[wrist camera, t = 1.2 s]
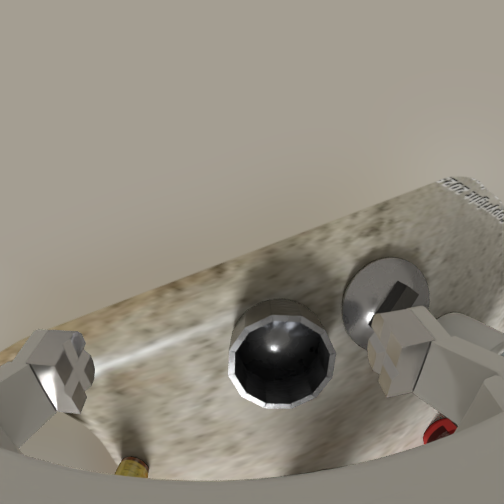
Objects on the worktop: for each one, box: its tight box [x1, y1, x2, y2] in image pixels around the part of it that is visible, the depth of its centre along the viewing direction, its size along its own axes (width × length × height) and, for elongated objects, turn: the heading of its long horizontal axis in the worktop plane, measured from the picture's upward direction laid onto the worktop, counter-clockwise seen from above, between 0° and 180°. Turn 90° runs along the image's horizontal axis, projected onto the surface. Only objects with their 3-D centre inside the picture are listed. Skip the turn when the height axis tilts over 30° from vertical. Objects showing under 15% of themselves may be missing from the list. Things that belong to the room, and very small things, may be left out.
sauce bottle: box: [114, 457, 149, 478], centre depth 42 cm, size 6×6×20 cm
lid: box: [342, 257, 429, 349], centre depth 45 cm, size 15×15×6 cm
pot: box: [228, 299, 336, 408], centre depth 45 cm, size 14×14×8 cm
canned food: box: [423, 418, 458, 444], centre depth 46 cm, size 8×8×11 cm
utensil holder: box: [437, 313, 504, 357], centre depth 40 cm, size 15×15×18 cm
